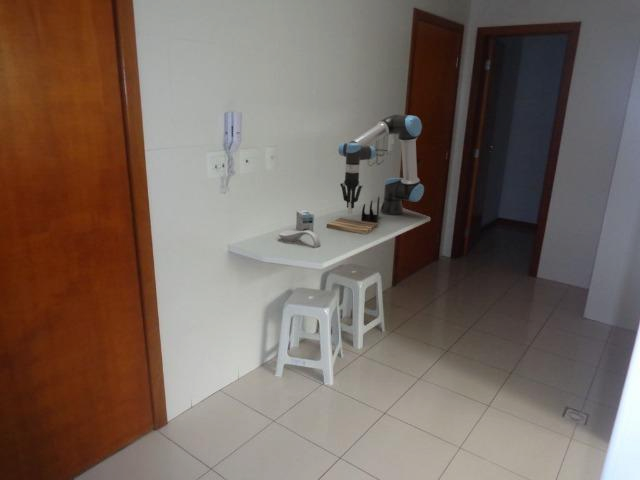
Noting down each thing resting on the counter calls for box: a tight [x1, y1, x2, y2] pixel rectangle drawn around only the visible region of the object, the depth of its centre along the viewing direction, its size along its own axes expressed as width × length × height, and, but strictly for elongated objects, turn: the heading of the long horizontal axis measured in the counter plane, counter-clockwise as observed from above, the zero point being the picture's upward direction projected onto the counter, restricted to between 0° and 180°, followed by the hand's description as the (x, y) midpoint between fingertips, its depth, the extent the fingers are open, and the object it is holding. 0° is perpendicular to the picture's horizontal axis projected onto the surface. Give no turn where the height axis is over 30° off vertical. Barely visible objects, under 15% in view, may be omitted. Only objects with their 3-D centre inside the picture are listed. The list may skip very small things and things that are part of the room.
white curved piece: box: [278, 230, 321, 249], centre depth 237 cm, size 24×12×7 cm, turn 55°
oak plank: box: [326, 220, 373, 235], centre depth 266 cm, size 10×24×2 cm, turn 64°
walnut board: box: [334, 217, 379, 231], centre depth 275 cm, size 9×24×2 cm, turn 64°
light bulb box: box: [295, 209, 315, 233], centre depth 257 cm, size 11×7×11 cm, turn 22°
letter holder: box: [360, 196, 380, 223], centre depth 289 cm, size 10×20×14 cm, turn 171°
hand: (350, 213), depth 263 cm, fingers closed
